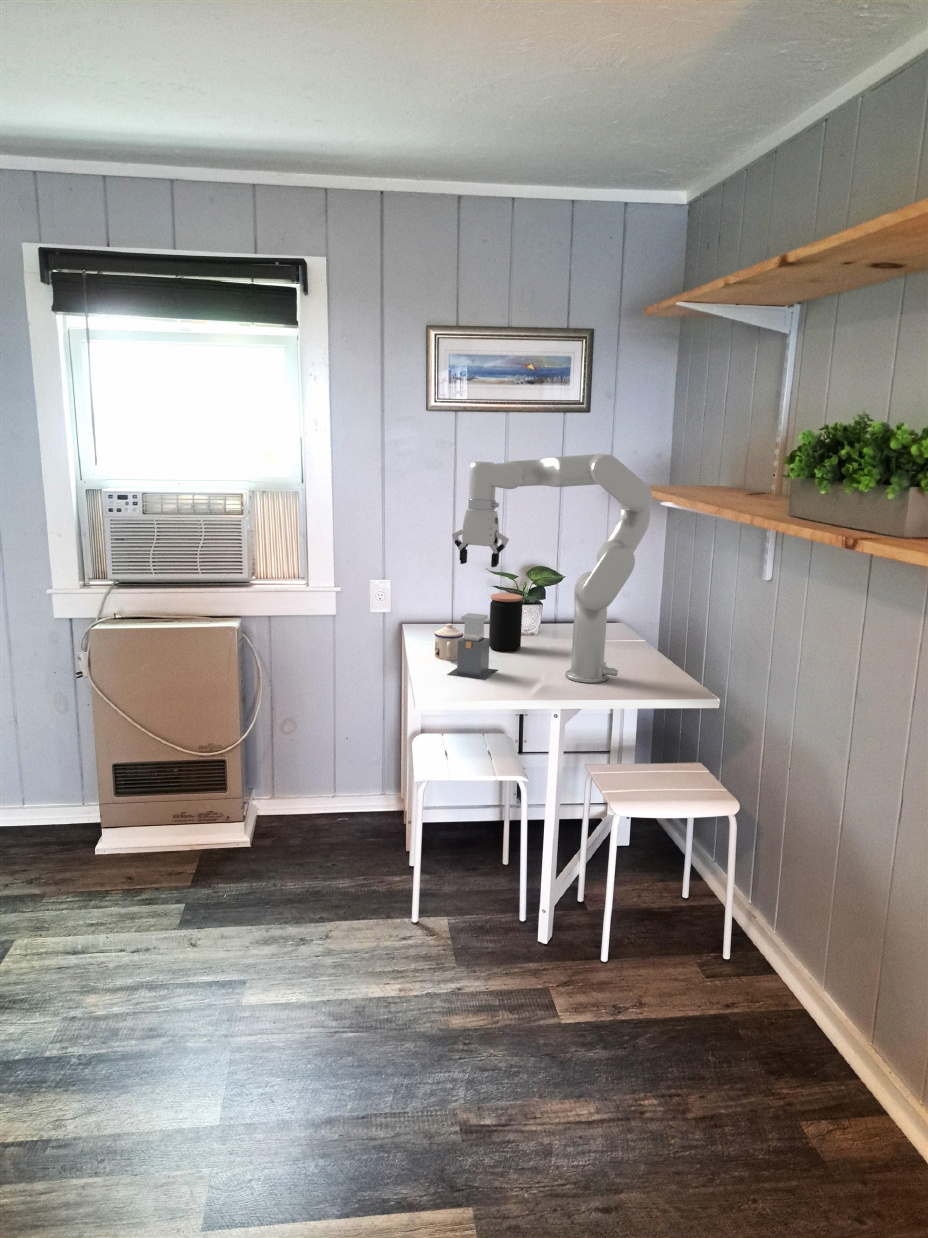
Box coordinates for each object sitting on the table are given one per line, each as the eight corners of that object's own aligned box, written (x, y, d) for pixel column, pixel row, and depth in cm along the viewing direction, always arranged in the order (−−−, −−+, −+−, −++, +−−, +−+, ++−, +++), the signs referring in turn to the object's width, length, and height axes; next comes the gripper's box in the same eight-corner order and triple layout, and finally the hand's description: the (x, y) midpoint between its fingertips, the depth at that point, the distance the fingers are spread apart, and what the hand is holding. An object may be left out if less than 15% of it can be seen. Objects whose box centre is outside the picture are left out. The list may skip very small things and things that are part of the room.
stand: (498, 673, 252) (499, 637, 249) (485, 684, 241) (486, 646, 238) (461, 668, 256) (462, 633, 253) (446, 678, 245) (447, 641, 242)
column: (485, 671, 250) (487, 615, 246) (478, 676, 244) (480, 618, 241) (466, 668, 252) (468, 613, 248) (459, 673, 246) (461, 616, 243)
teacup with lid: (434, 656, 269) (435, 620, 267) (462, 657, 270) (463, 621, 267) (433, 666, 258) (434, 629, 255) (463, 667, 258) (464, 630, 255)
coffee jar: (521, 645, 286) (523, 593, 283) (519, 653, 276) (522, 599, 272) (489, 644, 287) (491, 592, 284) (487, 651, 277) (489, 598, 273)
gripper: (514, 507, 239) (511, 566, 243) (459, 502, 246) (457, 560, 250) (504, 508, 233) (501, 569, 236) (448, 504, 240) (446, 563, 243)
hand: (478, 565), depth 243 cm, fingers open, 9 cm apart
